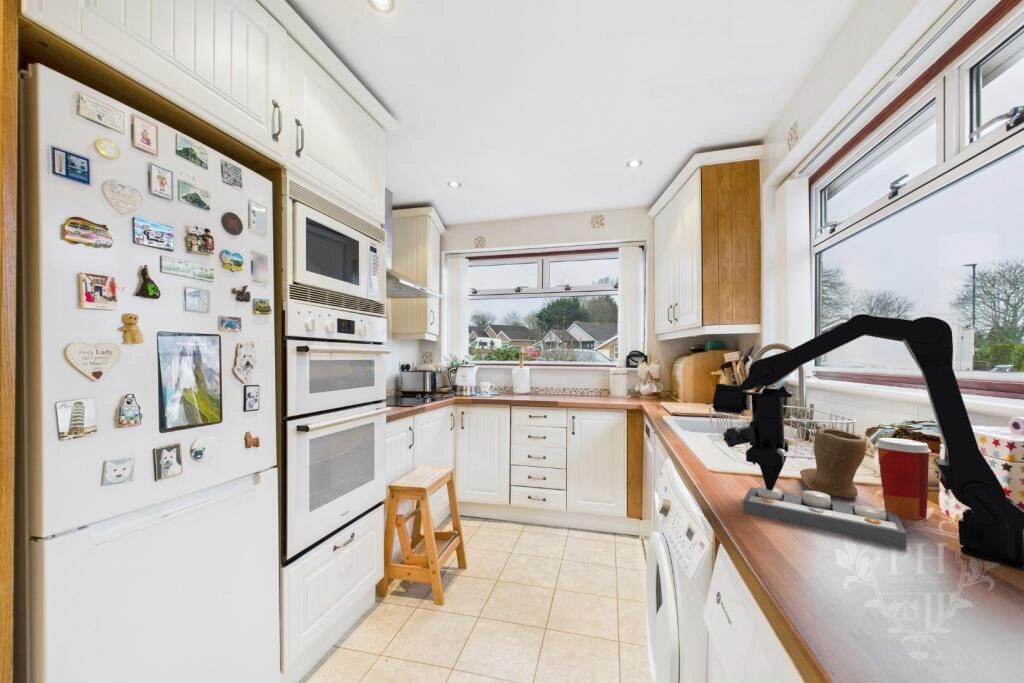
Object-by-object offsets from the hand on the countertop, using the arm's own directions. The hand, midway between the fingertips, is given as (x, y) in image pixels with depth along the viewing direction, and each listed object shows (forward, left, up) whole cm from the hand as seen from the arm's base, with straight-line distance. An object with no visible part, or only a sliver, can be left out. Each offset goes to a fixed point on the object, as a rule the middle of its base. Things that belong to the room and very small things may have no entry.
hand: (769, 489), depth 83 cm
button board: (-8, -2, -4) cm, 9 cm away
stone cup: (-1, -25, -4) cm, 25 cm away
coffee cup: (-15, -21, -4) cm, 26 cm away
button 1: (0, 0, -2) cm, 2 cm away
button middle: (-7, -3, -1) cm, 8 cm away
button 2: (-15, -7, -3) cm, 16 cm away
